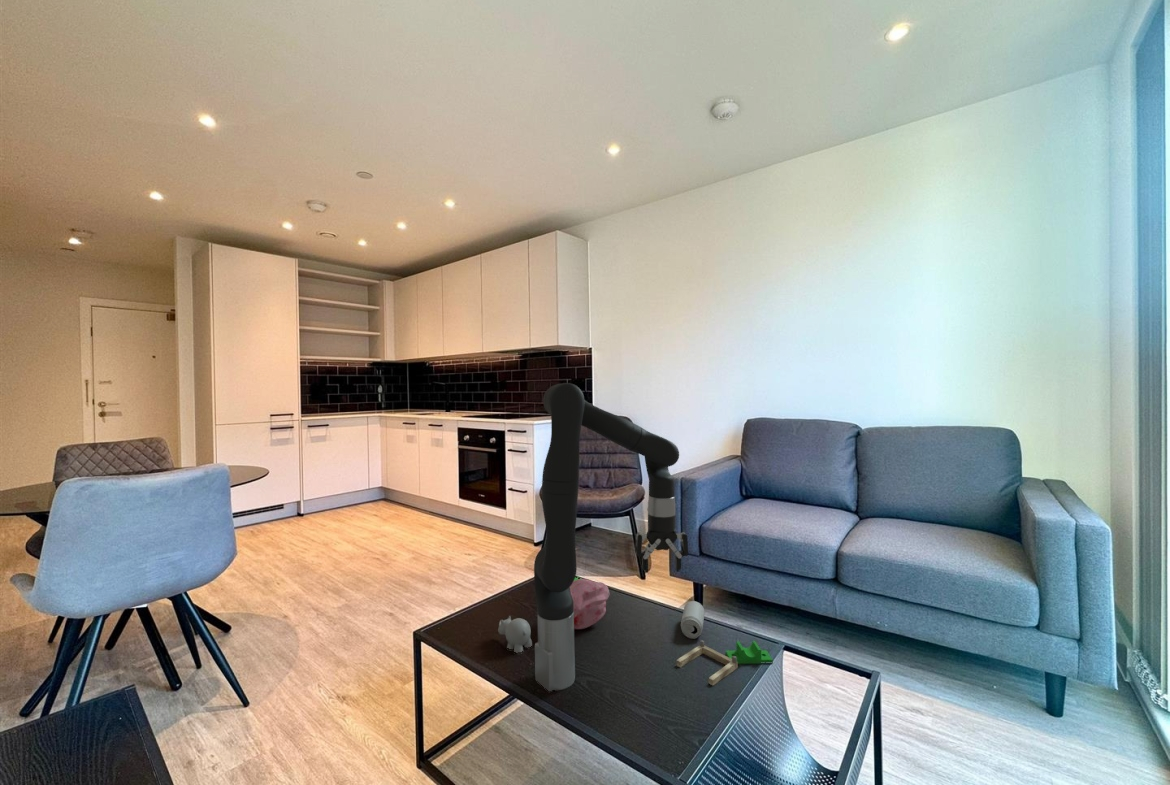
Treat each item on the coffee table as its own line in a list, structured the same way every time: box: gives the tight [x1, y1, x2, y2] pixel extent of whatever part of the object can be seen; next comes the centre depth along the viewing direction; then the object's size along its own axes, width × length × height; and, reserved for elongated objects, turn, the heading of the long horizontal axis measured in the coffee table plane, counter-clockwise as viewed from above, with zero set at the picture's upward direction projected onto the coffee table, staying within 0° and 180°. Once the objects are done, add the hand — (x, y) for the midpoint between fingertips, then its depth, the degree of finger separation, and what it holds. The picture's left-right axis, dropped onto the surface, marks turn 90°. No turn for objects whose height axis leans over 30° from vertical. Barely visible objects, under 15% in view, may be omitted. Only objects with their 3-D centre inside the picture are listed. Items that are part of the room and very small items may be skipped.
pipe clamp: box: [725, 640, 774, 664], centre depth 122 cm, size 11×4×5 cm
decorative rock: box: [570, 578, 610, 630], centre depth 142 cm, size 19×14×15 cm
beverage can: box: [680, 600, 706, 639], centre depth 138 cm, size 6×6×12 cm
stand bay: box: [676, 639, 739, 686], centre depth 119 cm, size 11×11×3 cm
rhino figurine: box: [497, 615, 533, 653], centre depth 131 cm, size 7×12×8 cm, turn 48°
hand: (661, 571), depth 124 cm, fingers open, 8 cm apart
